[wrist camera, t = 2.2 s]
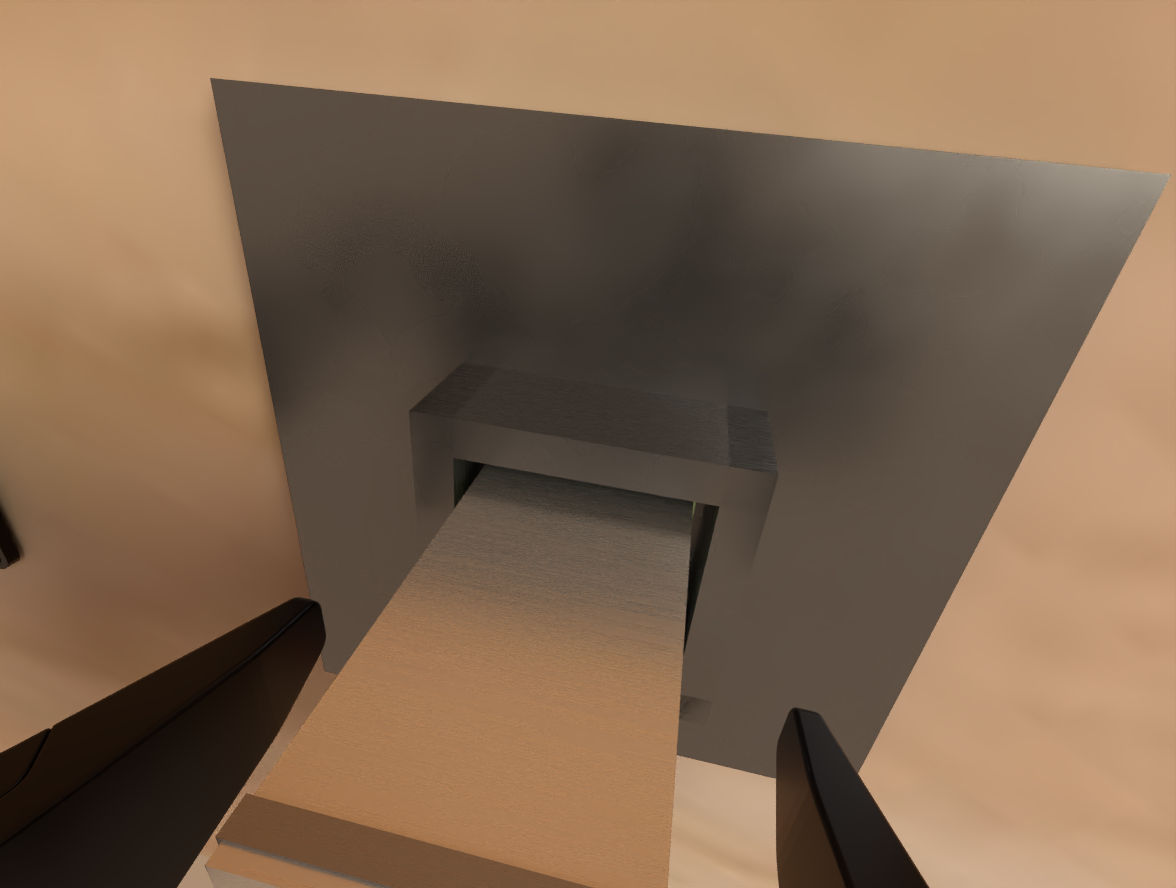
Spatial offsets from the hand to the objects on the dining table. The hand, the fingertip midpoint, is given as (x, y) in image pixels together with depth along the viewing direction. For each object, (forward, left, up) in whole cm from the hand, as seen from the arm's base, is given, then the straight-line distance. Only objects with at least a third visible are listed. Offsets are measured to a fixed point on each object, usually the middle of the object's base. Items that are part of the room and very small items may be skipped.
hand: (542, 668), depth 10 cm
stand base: (0, 0, -6) cm, 6 cm away
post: (0, 0, -5) cm, 5 cm away
